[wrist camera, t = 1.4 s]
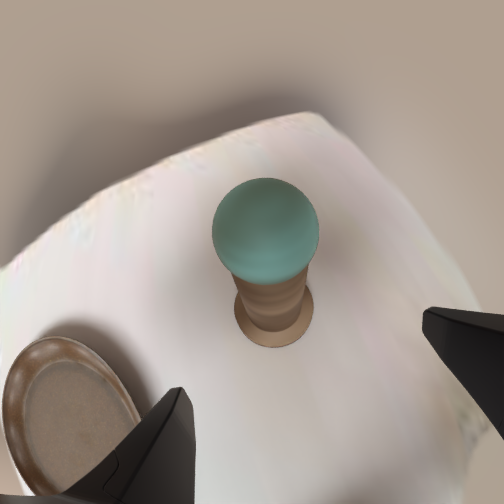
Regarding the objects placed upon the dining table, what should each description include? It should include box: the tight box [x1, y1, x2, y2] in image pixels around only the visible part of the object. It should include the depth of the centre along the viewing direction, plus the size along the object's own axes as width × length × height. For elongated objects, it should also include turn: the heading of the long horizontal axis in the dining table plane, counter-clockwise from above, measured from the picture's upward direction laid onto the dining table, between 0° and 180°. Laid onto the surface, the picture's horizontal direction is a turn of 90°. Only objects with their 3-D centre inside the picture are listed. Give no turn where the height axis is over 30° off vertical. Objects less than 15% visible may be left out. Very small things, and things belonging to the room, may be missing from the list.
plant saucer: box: [2, 336, 141, 496], centre depth 16 cm, size 21×21×3 cm
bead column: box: [212, 178, 319, 348], centre depth 17 cm, size 6×6×14 cm
